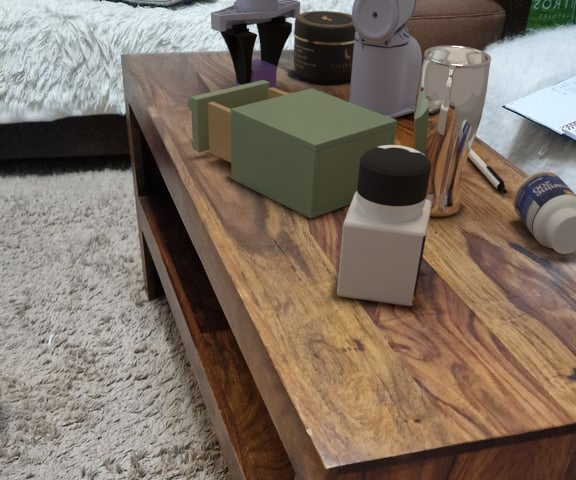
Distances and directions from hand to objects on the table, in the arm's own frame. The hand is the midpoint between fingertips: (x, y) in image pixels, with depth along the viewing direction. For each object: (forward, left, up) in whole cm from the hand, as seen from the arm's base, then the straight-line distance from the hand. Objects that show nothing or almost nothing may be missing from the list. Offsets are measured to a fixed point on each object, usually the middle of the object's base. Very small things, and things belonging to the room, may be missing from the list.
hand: (256, 81), depth 111 cm
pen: (-4, +37, -2) cm, 37 cm away
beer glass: (+10, +41, -2) cm, 43 cm away
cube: (0, 0, -1) cm, 1 cm away
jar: (-14, 0, -2) cm, 14 cm away
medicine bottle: (+28, +50, -2) cm, 57 cm away
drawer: (+17, +19, -1) cm, 25 cm away
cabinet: (+17, +29, -1) cm, 34 cm away
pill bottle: (+4, +50, +1) cm, 51 cm away
